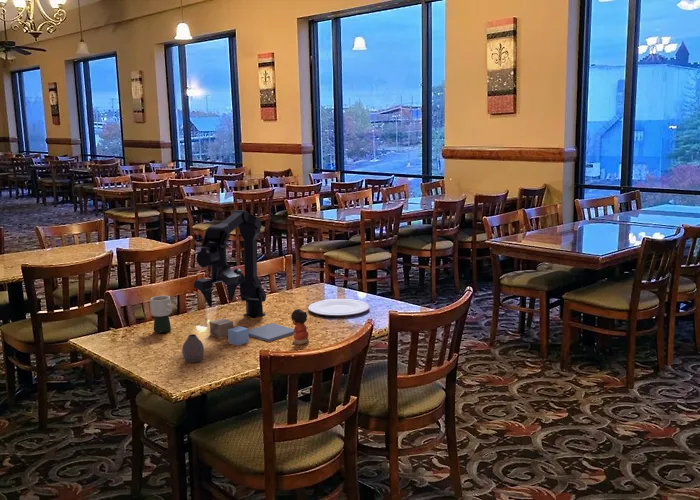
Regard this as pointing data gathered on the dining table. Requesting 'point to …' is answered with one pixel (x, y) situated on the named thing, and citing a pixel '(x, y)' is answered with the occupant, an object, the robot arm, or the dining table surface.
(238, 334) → the blue brick
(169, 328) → the character mug
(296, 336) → the figurine
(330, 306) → the plate
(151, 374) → the dining table surface
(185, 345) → the vase
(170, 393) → the dining table surface
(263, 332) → the build plate
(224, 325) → the walnut brick
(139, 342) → the dining table surface
